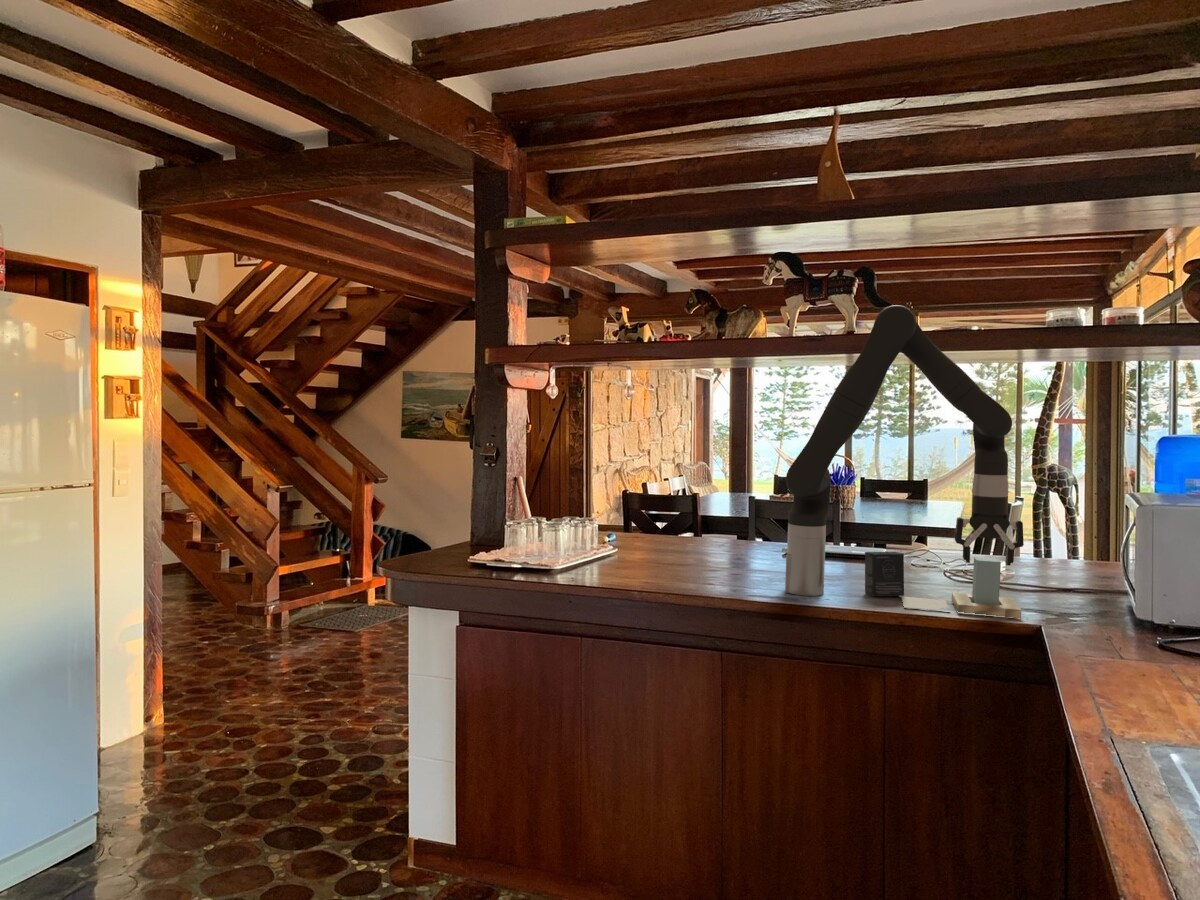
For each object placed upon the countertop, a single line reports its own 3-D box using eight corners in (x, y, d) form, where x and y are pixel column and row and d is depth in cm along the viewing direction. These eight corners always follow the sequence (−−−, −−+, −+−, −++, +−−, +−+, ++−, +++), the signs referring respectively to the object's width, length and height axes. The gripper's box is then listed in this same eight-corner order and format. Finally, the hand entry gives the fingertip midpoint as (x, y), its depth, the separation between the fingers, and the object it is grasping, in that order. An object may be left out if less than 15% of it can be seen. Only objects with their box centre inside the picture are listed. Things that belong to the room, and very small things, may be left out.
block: (974, 611, 190) (976, 560, 190) (971, 607, 195) (974, 556, 194) (998, 613, 189) (1000, 562, 188) (994, 609, 194) (997, 558, 193)
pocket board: (957, 614, 188) (958, 604, 188) (951, 601, 200) (952, 592, 200) (1020, 619, 184) (1021, 609, 184) (1010, 606, 196) (1011, 597, 196)
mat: (903, 608, 192) (903, 607, 192) (901, 598, 203) (901, 596, 203) (950, 612, 189) (950, 611, 189) (945, 601, 200) (945, 600, 200)
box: (894, 593, 208) (894, 551, 209) (904, 596, 203) (904, 553, 203) (864, 593, 208) (864, 551, 208) (873, 596, 202) (873, 553, 202)
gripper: (958, 494, 189) (956, 564, 190) (1027, 496, 185) (1024, 568, 185) (954, 491, 196) (952, 559, 197) (1021, 493, 192) (1018, 563, 193)
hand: (987, 563), depth 191 cm, fingers open, 8 cm apart
